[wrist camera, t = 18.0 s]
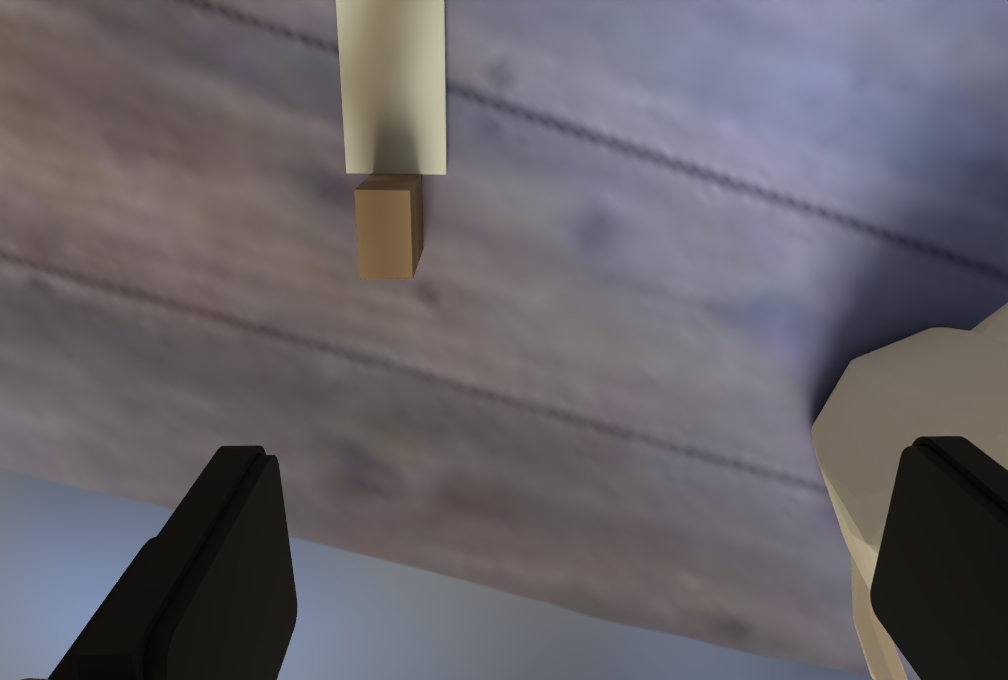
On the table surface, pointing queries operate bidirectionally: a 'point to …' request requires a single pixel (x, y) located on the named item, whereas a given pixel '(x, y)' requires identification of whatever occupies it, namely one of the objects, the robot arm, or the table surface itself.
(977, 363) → the cream teapot
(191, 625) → the robot arm
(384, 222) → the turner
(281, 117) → the table surface
